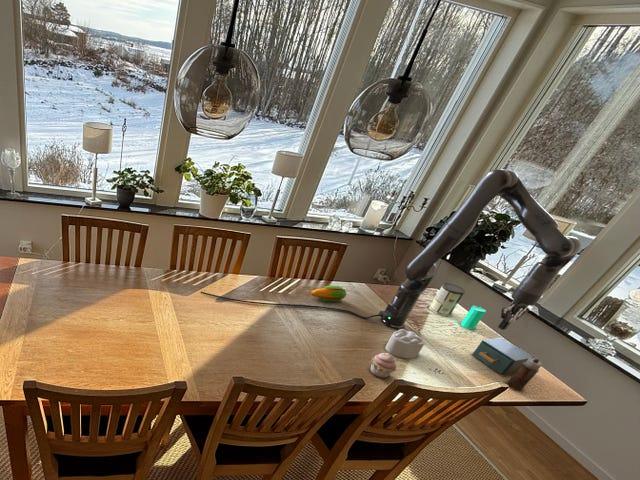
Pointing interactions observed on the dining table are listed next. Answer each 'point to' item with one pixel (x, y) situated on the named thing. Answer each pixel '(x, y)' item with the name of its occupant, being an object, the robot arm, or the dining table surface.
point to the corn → (329, 293)
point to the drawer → (492, 358)
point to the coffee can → (447, 299)
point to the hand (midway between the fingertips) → (501, 328)
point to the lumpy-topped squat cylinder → (405, 344)
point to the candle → (473, 317)
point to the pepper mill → (524, 374)
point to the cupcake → (383, 365)
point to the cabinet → (508, 354)
